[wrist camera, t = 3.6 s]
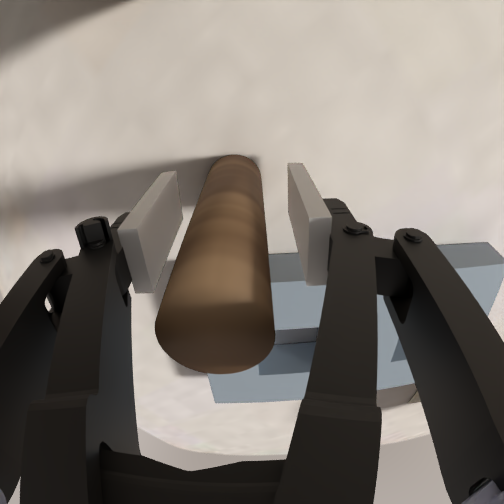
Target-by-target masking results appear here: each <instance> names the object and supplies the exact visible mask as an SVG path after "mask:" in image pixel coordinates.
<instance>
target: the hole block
mask: <svg viewBox="0 0 504 504" xmlns="http://www.w3.org/2000/svg"><path fill="white" fill-rule="evenodd" d="M436 246H437V247H438V248H439V249H440V251H441V252H442V253H443V255H444V256H445V257H446V258H447V260H448V261H449V262H450V264H451V265H452V266H453V268H454V269H455V270H456V272H457V273H458V275H459V276H460V277H461V279H462V280H463V281H464V283H465V284H466V286H467V287H468V288H469V290H470V291H471V293H472V294H473V296H474V297H475V299H476V300H477V301H478V303H479V304H480V306H481V307H482V309H483V310H484V312H485V314H486V315H487V317H488V314H489V312H490V310H491V308H492V305H493V303H494V301H495V298H496V296H497V293H498V291H499V288H500V286H501V283H502V281H503V278H504V258H503V257H502V256H501V255H500V254H499V253H498V252H497V251H496V250H495V249H494V248H493V247H492V246H491V245H490V244H489V243H488V242H486V243H469V244H451V245H436ZM268 256H269V267H270V278H271V290H272V301H273V313H274V325H275V330H287V329H301V328H315V327H318V329H319V324H320V319H321V313H322V307H323V302H324V296H325V290H326V285H320V286H307V285H306V281H305V277H304V273H303V269H302V264H301V260H300V256H299V253H288V254H270V255H268ZM377 316H378V365H377V390H381V389H387V388H392V387H398V386H403V385H408V384H413V383H415V382H414V379H413V376H412V373H411V370H410V367H409V364H408V362H407V359H406V356H405V353H404V351H403V348H402V345H401V343H400V340H399V337H398V335H397V332H396V329H395V327H394V324H393V322H392V319H391V317H390V314H389V312H388V309H387V307H386V305H385V302H384V299H383V295H377ZM317 334H318V331H317ZM315 345H316V342H309V343H296V344H281V345H274V346H273V348H272V350H271V352H270V353H269V355H268V356H267V357H266V358H265V359H264V360H263V361H262V362H260V363H259V364H257V365H256V366H254V367H252V368H250V369H248V370H245V371H242V372H238V373H232V374H209V373H207V374H208V378H209V382H210V386H211V390H212V393H213V397H214V401H215V403H253V402H274V401H290V400H302V399H304V396H305V392H306V387H307V383H308V378H309V374H310V369H311V364H312V359H313V355H314V350H315Z"/></svg>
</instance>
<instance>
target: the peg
mask: <svg viewBox="0 0 504 504" xmlns="http://www.w3.org/2000/svg"><path fill="white" fill-rule="evenodd" d="M155 334H156V337H157V340H158V342H159V344H160V346H161V347H162V349H163V350H164V351H165V352H166V353H167V354H168V355H169V356H170V357H171V358H172V359H174V360H175V361H176V362H178V363H180V364H181V365H183V366H185V367H187V368H190V369H192V370H195V371H199V372H203V373H209V374H232V373H238V372H242V371H245V370H248V369H250V368H252V367H254V366H256V365H257V364H259V363H260V362H262V361H263V360H264V359H265V358H266V357H267V356H268V355H269V353H270V352H271V350H272V348H273V346H274V342H275V325H274V313H273V301H272V290H271V278H270V267H269V256H268V245H267V234H266V223H265V212H264V202H263V192H262V181H261V174H260V171H259V169H258V167H257V166H256V164H255V163H254V162H253V161H252V160H250V159H249V158H247V157H244V156H241V155H228V156H225V157H222V158H220V159H219V160H218V161H216V162H215V163H214V164H213V166H212V167H211V169H210V172H209V174H208V176H207V179H206V181H205V184H204V187H203V189H202V192H201V194H200V197H199V199H198V202H197V204H196V207H195V210H194V212H193V215H192V218H191V220H190V223H189V226H188V228H187V231H186V234H185V236H184V239H183V242H182V245H181V247H180V250H179V253H178V256H177V258H176V261H175V264H174V267H173V270H172V273H171V276H170V279H169V281H168V284H167V287H166V290H165V293H164V296H163V299H162V302H161V305H160V308H159V311H158V315H157V318H156V321H155Z"/></svg>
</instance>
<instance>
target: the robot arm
mask: <svg viewBox="0 0 504 504" xmlns="http://www.w3.org/2000/svg"><path fill="white" fill-rule="evenodd" d="M288 213H289V217H290V221H291V224H292V228H293V232H294V236H295V240H296V244H297V248H298V252H299V256H300V260H301V264H302V269H303V273H304V277H305V281H306V285H307V286H320V285H326V290H325V296H324V302H323V307H322V313H321V319H320V324H319V329H318V334H317V340H316V345H315V350H314V355H313V359H312V364H311V369H310V374H309V378H308V383H307V387H306V392H305V396H304V399H302V402H301V405H300V409H299V412H298V416H297V420H296V424H295V428H294V432H293V436H292V440H291V443H290V447H289V451H288V455H287V458H286V460H269V461H242V462H237V463H233V464H228V465H223V466H218V467H213V468H208V469H202V470H196V471H186V470H182V469H179V468H176V467H173V466H170V465H167V464H163V463H161V462H158V461H155V460H153V459H150V458H147V457H145V456H142V455H141V453H140V449H139V442H138V433H137V423H136V412H135V400H134V386H133V367H132V338H131V296H130V293H129V290H128V288H129V286H130V284H131V282H132V284H133V287H134V290H135V293H154V291H155V288H156V286H157V283H158V280H159V278H160V275H161V272H162V270H163V267H164V265H165V262H166V260H167V257H168V255H169V252H170V250H171V247H172V245H173V242H174V240H175V237H176V235H177V232H178V230H179V227H180V225H181V223H182V220H183V214H182V208H181V201H180V195H179V188H178V181H177V175H176V171H170V172H162V173H161V174H160V175H159V177H158V178H157V179H156V180H155V182H154V183H153V184H152V185H151V186H150V188H149V189H148V190H147V191H146V193H145V194H144V195H143V197H142V198H141V199H140V200H139V202H138V203H137V204H136V206H135V207H134V208H133V209H132V211H131V212H126V213H124V214H123V215H121V216H120V217H118V218H117V219H116V221H115V222H114V224H112V226H111V227H110V226H109V222H108V218H106V217H102V216H99V217H93V218H90V219H87V220H85V221H83V222H81V223H79V224H78V225H77V226H76V227H75V231H76V235H77V238H78V241H79V244H80V247H81V250H80V253H79V256H76V257H72V258H68V259H65V258H64V255H63V252H62V250H60V249H53V250H47V251H44V252H43V253H42V254H40V255H39V256H38V257H37V258H36V259H35V260H34V261H33V262H32V263H31V264H30V266H29V267H28V268H27V269H26V271H25V272H24V273H23V275H22V276H21V277H20V278H19V280H18V281H17V282H16V284H15V285H14V286H13V287H12V289H11V290H10V291H9V293H8V294H7V296H6V297H5V298H4V300H3V301H2V302H1V304H0V504H8V502H9V500H10V498H11V497H12V495H13V493H14V491H15V488H16V486H17V484H18V481H19V479H20V476H21V480H20V504H373V501H374V494H375V487H376V479H377V471H378V460H379V450H380V439H381V425H382V412H381V408H380V407H377V405H376V394H377V365H378V316H377V295H383V299H384V302H385V305H386V307H387V309H388V312H389V314H390V317H391V319H392V322H393V324H394V327H395V329H396V332H397V335H398V337H399V340H400V343H401V345H402V348H403V351H404V353H405V356H406V359H407V362H408V364H409V367H410V370H411V373H412V376H413V379H414V382H415V385H416V388H417V391H418V394H419V397H420V400H421V403H422V406H423V409H424V412H425V416H426V419H427V422H428V426H429V429H430V433H431V436H432V440H433V443H434V447H435V450H436V454H437V458H438V462H439V465H440V470H441V474H442V477H443V480H444V484H445V487H446V490H447V492H448V495H449V497H450V500H451V502H452V504H504V342H503V341H502V339H501V337H500V336H499V334H498V332H497V331H496V329H495V328H494V326H493V324H492V323H491V321H490V320H489V318H488V317H487V315H486V314H485V312H484V310H483V309H482V307H481V306H480V304H479V303H478V301H477V300H476V299H475V297H474V296H473V294H472V293H471V291H470V290H469V288H468V287H467V286H466V284H465V283H464V281H463V280H462V279H461V277H460V276H459V275H458V273H457V272H456V270H455V269H454V268H453V266H452V265H451V264H450V262H449V261H448V260H447V258H446V257H445V256H444V255H443V253H442V252H441V251H440V249H439V248H438V247H437V246H436V244H435V243H434V242H433V241H432V239H431V238H430V237H429V236H428V235H427V234H426V233H424V232H422V231H420V230H418V229H414V228H404V229H399V230H397V231H396V233H395V236H394V240H390V239H382V238H377V237H374V236H373V231H372V229H371V228H370V227H369V226H367V225H365V224H363V223H359V222H357V221H356V220H355V218H354V217H353V215H352V214H351V212H350V211H349V209H348V208H347V206H346V204H345V203H344V202H342V201H340V200H339V199H337V198H331V199H322V197H321V195H320V193H319V192H318V190H317V188H316V186H315V184H314V182H313V181H312V179H311V177H310V175H309V174H308V172H307V170H306V168H305V166H304V165H303V163H288ZM46 297H47V299H48V301H49V303H50V305H51V307H52V308H51V309H50V311H49V312H48V310H47V309H46V307H45V299H46Z"/></svg>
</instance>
